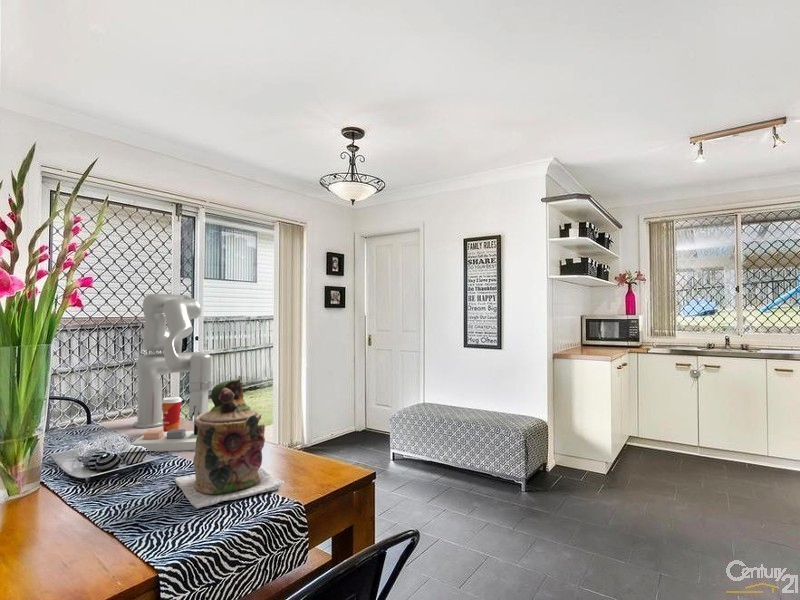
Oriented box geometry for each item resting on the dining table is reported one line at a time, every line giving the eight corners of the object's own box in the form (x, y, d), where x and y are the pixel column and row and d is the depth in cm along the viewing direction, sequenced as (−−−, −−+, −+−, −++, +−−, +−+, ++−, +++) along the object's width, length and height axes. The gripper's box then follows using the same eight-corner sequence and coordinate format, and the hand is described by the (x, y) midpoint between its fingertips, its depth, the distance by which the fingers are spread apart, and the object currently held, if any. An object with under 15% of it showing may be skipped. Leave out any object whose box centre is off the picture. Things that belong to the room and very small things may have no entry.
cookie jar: (172, 483, 133) (175, 375, 134) (253, 466, 148) (255, 369, 149) (196, 512, 114) (200, 386, 115) (286, 489, 130) (288, 378, 130)
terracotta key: (148, 436, 172) (149, 429, 172) (163, 435, 173) (163, 429, 173) (143, 440, 167) (143, 433, 167) (158, 439, 167) (158, 433, 168)
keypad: (147, 439, 177) (147, 432, 177) (216, 437, 181) (217, 430, 181) (130, 452, 161) (130, 443, 161) (206, 449, 165) (207, 441, 165)
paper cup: (161, 430, 191) (162, 397, 192) (181, 428, 194) (182, 396, 195) (160, 434, 184) (161, 400, 184) (180, 433, 187) (181, 399, 188)
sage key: (193, 438, 174) (193, 432, 174) (207, 438, 175) (207, 432, 175) (189, 442, 169) (189, 436, 169) (203, 442, 170) (204, 435, 170)
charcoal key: (171, 435, 173) (171, 429, 173) (185, 435, 174) (185, 428, 174) (166, 439, 168) (166, 432, 168) (181, 438, 169) (181, 432, 169)
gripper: (195, 383, 180) (193, 429, 179) (183, 389, 165) (182, 439, 164) (214, 383, 181) (213, 428, 180) (205, 389, 166) (204, 439, 166)
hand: (198, 434), depth 172 cm, fingers closed
